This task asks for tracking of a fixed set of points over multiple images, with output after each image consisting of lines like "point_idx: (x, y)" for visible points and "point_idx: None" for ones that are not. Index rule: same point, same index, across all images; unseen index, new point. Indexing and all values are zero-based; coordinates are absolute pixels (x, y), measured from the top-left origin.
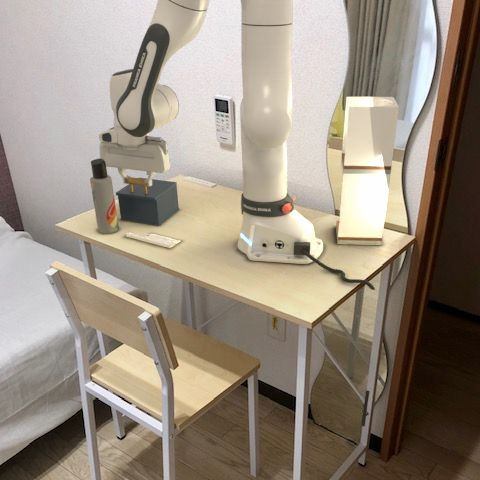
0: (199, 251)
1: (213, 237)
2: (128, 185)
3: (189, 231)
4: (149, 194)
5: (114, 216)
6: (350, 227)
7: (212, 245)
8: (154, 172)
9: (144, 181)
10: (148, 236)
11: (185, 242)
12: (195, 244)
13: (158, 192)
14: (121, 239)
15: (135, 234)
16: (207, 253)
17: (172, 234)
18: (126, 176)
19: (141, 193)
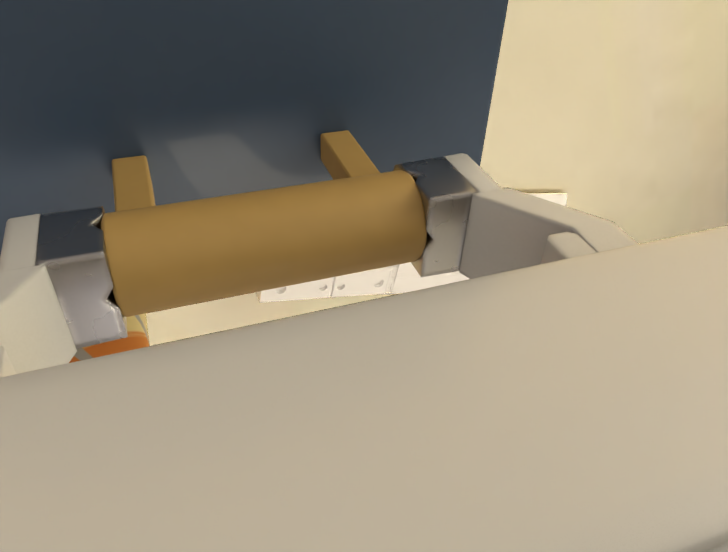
0: (655, 229)
1: (720, 70)
2: None
3: (587, 54)
4: (386, 149)
5: (149, 345)
6: None
7: (710, 155)
8: (618, 240)
9: (417, 267)
10: (403, 265)
11: (586, 187)
12: (635, 183)
13: (460, 51)
14: (246, 319)
15: (320, 283)
16: (687, 228)
17: (498, 138)
18: (58, 302)
19: (283, 163)
